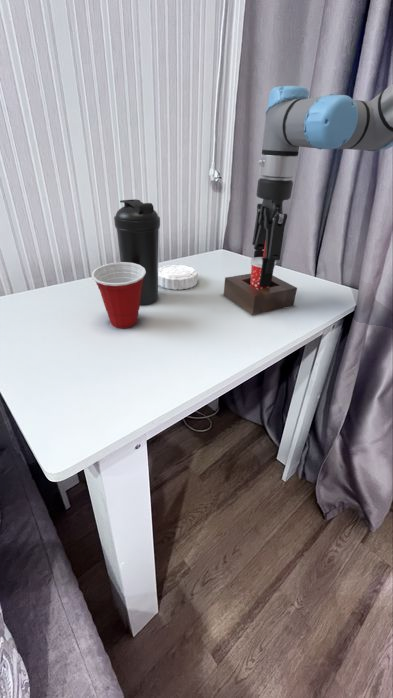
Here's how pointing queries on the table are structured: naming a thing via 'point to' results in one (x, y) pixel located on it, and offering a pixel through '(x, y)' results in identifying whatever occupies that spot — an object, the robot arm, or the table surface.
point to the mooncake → (177, 277)
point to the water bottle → (140, 243)
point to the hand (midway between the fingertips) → (260, 280)
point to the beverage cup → (257, 271)
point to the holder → (259, 294)
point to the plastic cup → (120, 291)
